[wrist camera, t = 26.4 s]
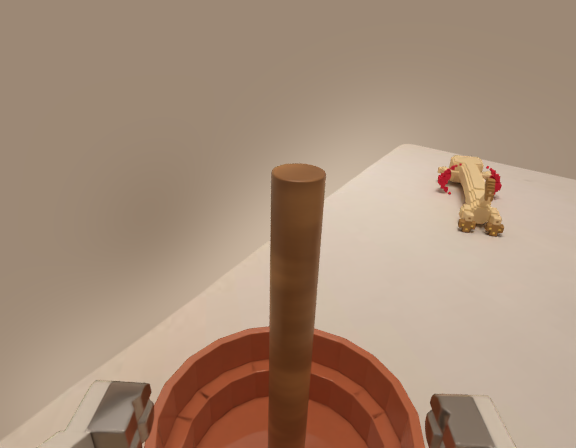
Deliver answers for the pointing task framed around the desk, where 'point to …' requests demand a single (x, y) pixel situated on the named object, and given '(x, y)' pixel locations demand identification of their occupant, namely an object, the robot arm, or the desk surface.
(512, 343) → the desk surface
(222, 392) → the bowl
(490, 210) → the cat figure
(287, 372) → the stirring stick
